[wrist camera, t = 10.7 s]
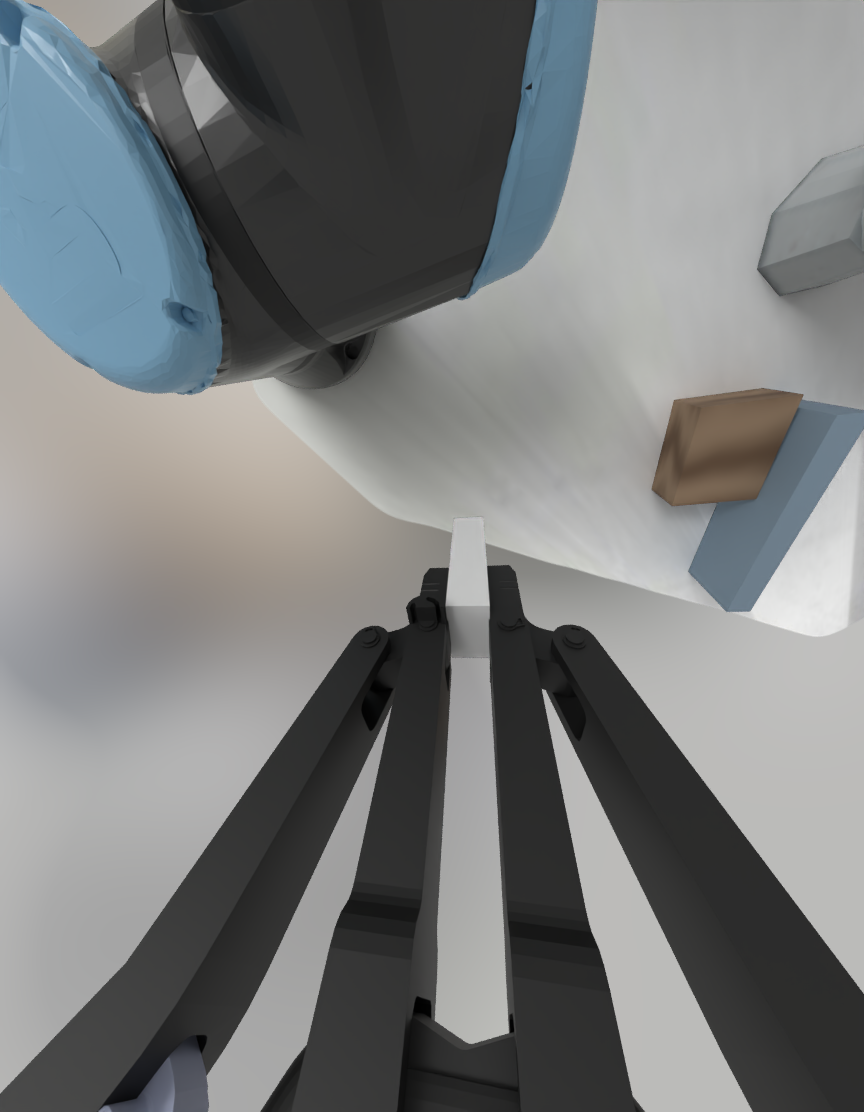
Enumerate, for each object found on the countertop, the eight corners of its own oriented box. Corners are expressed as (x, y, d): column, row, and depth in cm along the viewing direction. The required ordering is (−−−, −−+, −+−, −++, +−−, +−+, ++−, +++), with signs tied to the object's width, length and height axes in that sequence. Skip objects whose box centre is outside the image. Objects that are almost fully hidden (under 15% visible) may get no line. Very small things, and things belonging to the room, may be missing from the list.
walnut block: (672, 399, 33) (701, 407, 29) (760, 388, 32) (803, 394, 27) (650, 488, 38) (672, 506, 34) (724, 482, 37) (756, 499, 33)
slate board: (761, 400, 32) (837, 415, 25) (790, 397, 32) (874, 411, 25) (688, 571, 44) (726, 611, 37) (708, 571, 44) (750, 611, 37)
